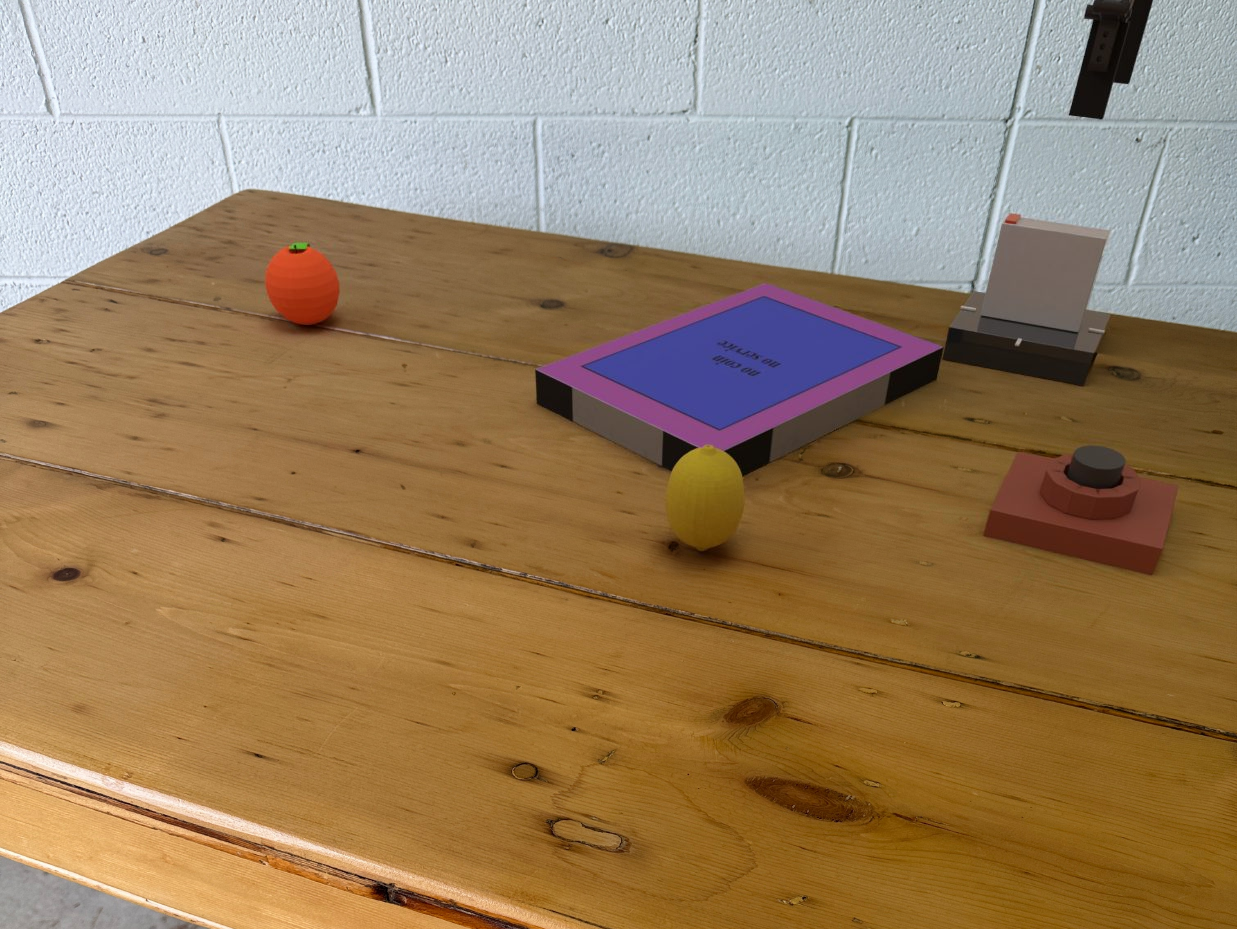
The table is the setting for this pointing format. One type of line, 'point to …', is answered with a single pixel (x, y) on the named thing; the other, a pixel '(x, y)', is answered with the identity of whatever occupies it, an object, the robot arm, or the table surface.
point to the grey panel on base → (1044, 272)
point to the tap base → (1024, 344)
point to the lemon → (705, 497)
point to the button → (1096, 467)
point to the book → (738, 378)
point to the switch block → (1082, 514)
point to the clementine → (302, 284)
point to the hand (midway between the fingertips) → (1100, 99)
